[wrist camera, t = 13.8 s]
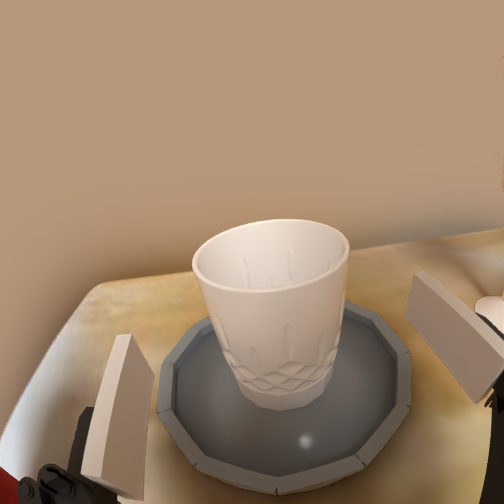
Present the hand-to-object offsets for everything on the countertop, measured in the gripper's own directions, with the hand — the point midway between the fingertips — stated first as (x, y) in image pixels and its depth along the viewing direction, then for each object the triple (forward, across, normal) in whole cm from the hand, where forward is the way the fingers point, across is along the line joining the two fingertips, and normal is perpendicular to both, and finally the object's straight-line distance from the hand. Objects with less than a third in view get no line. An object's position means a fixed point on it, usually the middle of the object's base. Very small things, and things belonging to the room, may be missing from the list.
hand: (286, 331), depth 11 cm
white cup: (+4, 0, -8) cm, 9 cm away
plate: (+4, 0, -9) cm, 9 cm away
